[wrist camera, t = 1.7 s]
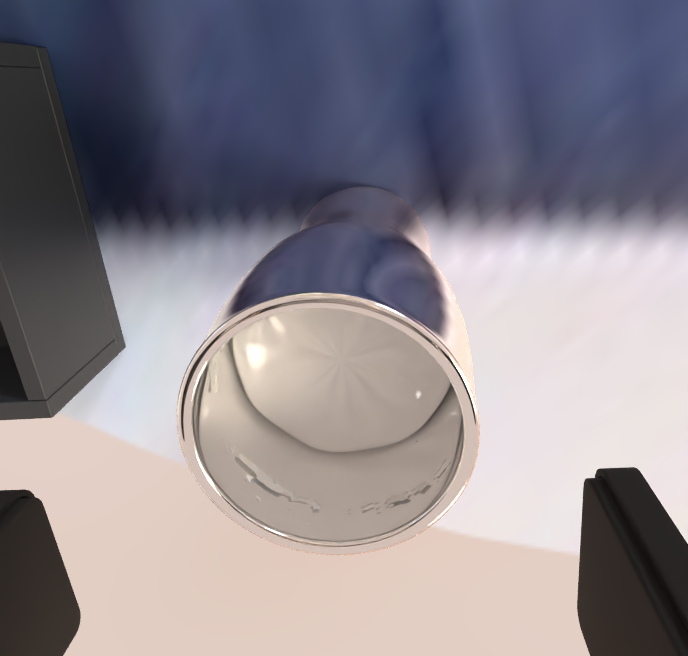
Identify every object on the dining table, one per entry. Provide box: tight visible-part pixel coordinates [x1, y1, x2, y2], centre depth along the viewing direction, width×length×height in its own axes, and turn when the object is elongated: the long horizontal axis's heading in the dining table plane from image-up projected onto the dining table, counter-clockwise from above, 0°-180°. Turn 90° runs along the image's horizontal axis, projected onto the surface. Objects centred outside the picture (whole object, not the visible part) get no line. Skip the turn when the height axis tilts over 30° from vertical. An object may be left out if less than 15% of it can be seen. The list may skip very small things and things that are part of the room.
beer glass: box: [177, 186, 480, 555], centre depth 19 cm, size 7×7×15 cm
